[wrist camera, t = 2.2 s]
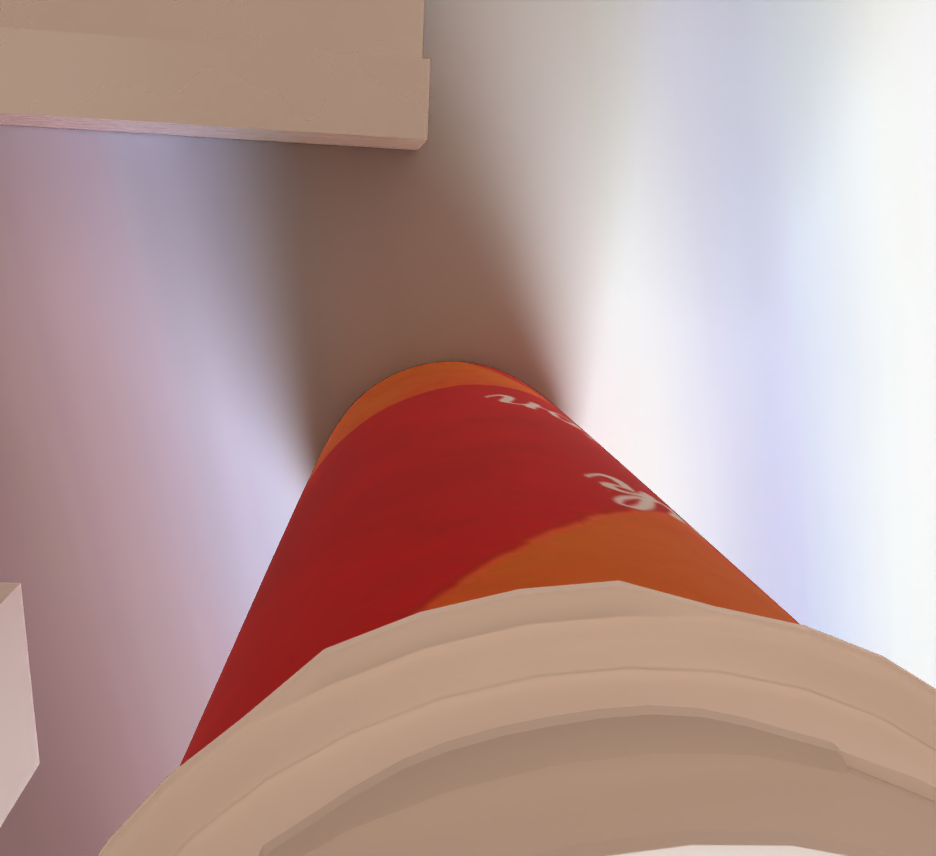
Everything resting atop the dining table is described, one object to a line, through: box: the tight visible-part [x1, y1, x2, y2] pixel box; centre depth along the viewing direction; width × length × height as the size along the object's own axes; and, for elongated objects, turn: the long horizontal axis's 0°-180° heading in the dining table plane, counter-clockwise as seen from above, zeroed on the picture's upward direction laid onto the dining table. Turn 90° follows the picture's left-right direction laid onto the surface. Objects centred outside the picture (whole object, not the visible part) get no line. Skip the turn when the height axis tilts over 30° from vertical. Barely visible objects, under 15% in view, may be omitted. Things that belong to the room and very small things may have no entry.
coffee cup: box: [98, 361, 936, 856], centre depth 12 cm, size 8×8×15 cm
